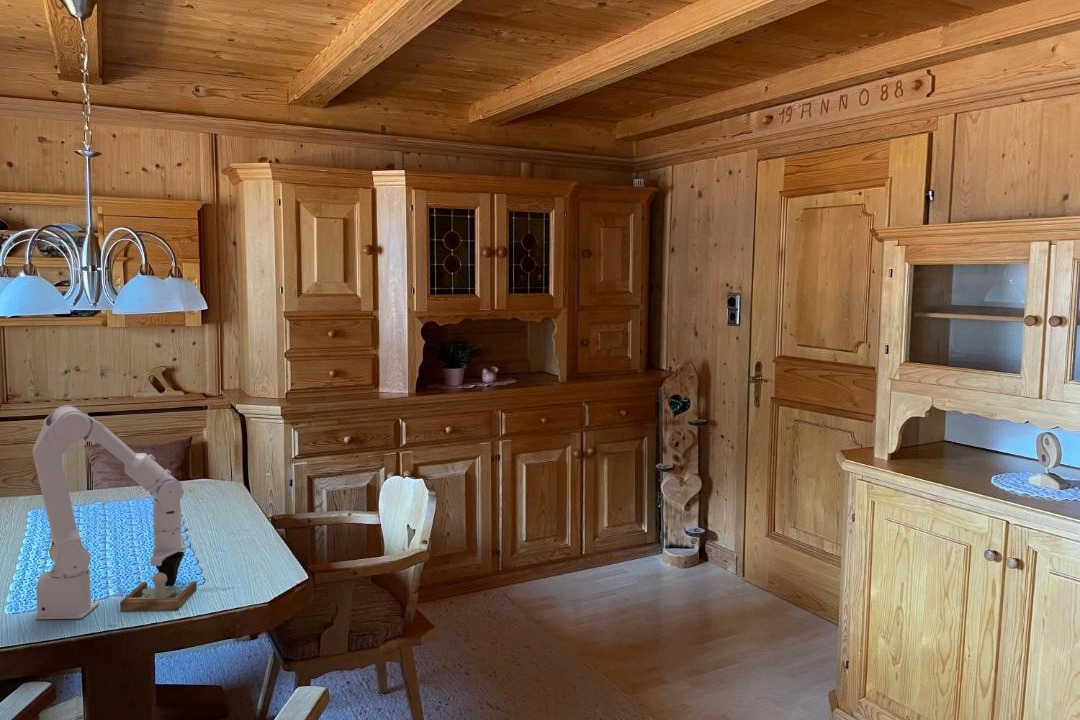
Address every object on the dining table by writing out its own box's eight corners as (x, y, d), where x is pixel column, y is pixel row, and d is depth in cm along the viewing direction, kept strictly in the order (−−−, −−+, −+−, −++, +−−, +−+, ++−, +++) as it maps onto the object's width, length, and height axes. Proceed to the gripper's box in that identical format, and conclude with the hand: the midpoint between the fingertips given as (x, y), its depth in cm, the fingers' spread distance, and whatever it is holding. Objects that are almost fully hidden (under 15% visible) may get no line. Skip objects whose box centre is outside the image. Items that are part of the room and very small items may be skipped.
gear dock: (120, 611, 169) (120, 600, 169) (142, 590, 181) (142, 580, 181) (178, 610, 170) (177, 599, 170) (196, 589, 182) (196, 580, 182)
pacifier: (145, 594, 179) (140, 603, 174) (145, 567, 179) (140, 576, 173) (180, 591, 182) (176, 600, 176) (180, 564, 181) (176, 573, 175)
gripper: (173, 537, 173) (175, 597, 174) (196, 518, 187) (198, 573, 188) (140, 538, 172) (142, 598, 173) (166, 518, 187) (168, 573, 188)
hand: (169, 585), depth 181 cm, fingers closed
